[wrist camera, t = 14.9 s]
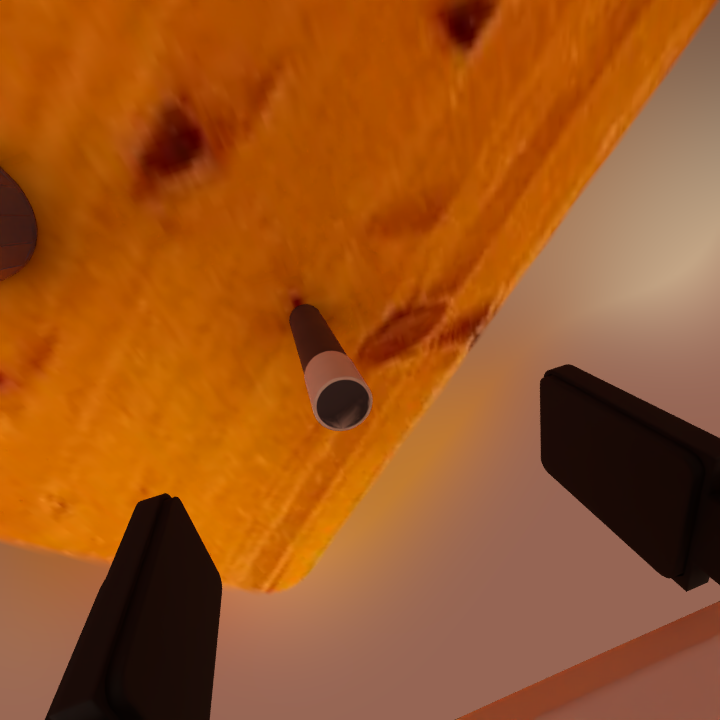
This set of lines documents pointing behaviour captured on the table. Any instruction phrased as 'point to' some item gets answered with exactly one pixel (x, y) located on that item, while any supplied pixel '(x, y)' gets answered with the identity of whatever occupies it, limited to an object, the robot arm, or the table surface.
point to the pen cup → (15, 228)
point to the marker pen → (329, 372)
